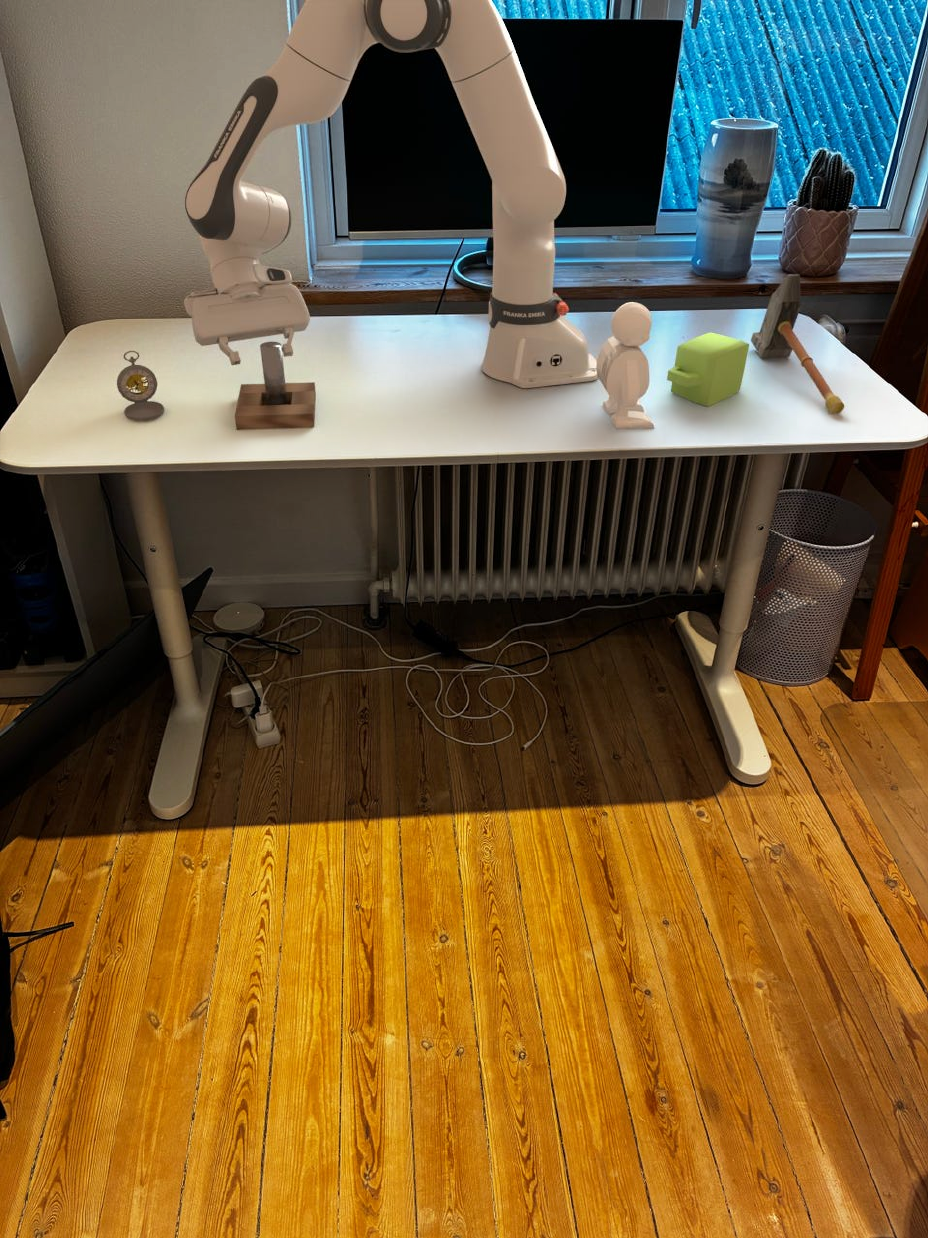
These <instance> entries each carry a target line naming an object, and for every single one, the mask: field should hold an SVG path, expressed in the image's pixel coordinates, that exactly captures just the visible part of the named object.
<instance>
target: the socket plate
mask: <svg viewBox="0 0 928 1238" xmlns="http://www.w3.org/2000/svg"><path fill="white" fill-rule="evenodd" d="M285 385H286V395H287V404H288V405H267V400H266V392H265V383H243V384H242V383H241V384H240V388H239V393H238V396H237V397H238V398H237V403H236V408H235V413H234V421H235V425H236V428H235V429H236V430H237V431H238V430H239V431H240V430H267V429H270V430H271V429H273V430H275V429H298V428H299V429H303V428H304V429H305V428H315V423H316V422H315V419H316V399H317V397H316V396H317V395H316V393H317V392H316V383H315V382H314V381H313V382H312V381H311V382H285Z"/></svg>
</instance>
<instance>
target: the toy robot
mask: <svg viewBox="0 0 928 1238" xmlns="http://www.w3.org/2000/svg"><path fill="white" fill-rule="evenodd" d="M652 321H653V320H652V314H651V313H650V310H649V309H648V308H647V307H646V306H645V305H643V304H642V303H638V302H633V301H631V302H630V301H629V302H626V303H624V304H622V305H621V306H619V307H618V308H617V309H616V311H615V312H614V313H613V315H612V317H611V321H610V322H611V323H610V324H611V325H610V326H611V327H610V328H611V334H612V336H610V337H609V338H607V339H606V340H605V342H604V343H603V345H602V346H601V348H600V351H598V352H599V353H598V354H597V355H598V356H597V359H596V361H597V366H596V369H597V375H598V379H599V381H600V383H601V384H602V386H603V387H604V389H605V391H606V393H607V395H608V399H607V400H604V401H603V402H602V407H603V408H604V410H605V412H606V413H607V414H613V415H612V416H611V422H612V423H613V426H614V428H615V429H616V430H617V429H618V430H619V429H620V430H621V429H623V430H624V429H625V430H626V429H655V425H654V422H653V420H652V419H651V418H650V416H649V414H648V413H646V412H645V410H644V407H643V405H642V403H641V402H640V401H639V400H640V399H641V398H642V397H643V396H645V395H646V393H647V391H648V389H649V386H650V365H649V361H648V358H647V356H646V355H645V353H644V351H643V350H642V349H641V348H640V347H641V346H643V345H644V344H646V343H647V342H648V341H649V340H650V338H651V330H652V323H653V322H652Z"/></svg>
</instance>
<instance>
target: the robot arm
mask: <svg viewBox="0 0 928 1238" xmlns="http://www.w3.org/2000/svg"><path fill="white" fill-rule="evenodd" d="M375 44H382V45H383V46H384V47H385V48H387V49H389V50H391V51H393V52H397V53H414V52H418V51H424V50H430V49H435V50H436V52H437V53H438V56H439V57H440V59H441V61H442V63H443V65H444V67H445V69H446V72H447V74H448V77H449V80H450V81H451V84H452V87H453V89H454V91H455V93H456V96H457V99H458V101H459V104H460V106H461V109H462V110H463V114H464V116H465V118H466V121H467V123H468V126H469V127H470V131H471V133H472V135H473V137H474V139H475V140H474V141H475V142H476V145H477V147H478V150H479V152H480V154H481V156H482V158H483V162H484V163H485V166H486V169H487V171H488V174H489V176H490V179H491V182H492V185H491V189H492V190H491V191H492V194H491V195H492V199H491V200H492V205H491V206H492V239H493V240H492V241H493V257H492V258H493V259H492V260H493V261H492V263H493V264H492V292H490V294H489V301H488V324H489V333H488V337H487V339H488V340H487V342H486V343H487V344H486V349H485V353H484V356H483V359H482V363H481V365H480V367H481V370H482V372H483V373H485V374H486V375H487V376H488V377H491V378H492V379H495V380H498V381H502V382H506V383H509V384H512V385H514V386H517V387H519V388H522V389H531V388H532V389H533V388H539V387H548V386H556V385H557V386H558V385H566V384H574V383H585V382H592V381H595V380H597V379H599V377H598V375H597V369H596V366H597V359H596V358H595V357H594V356H593V354H591V353H589V347H588V341H587V338H586V336H585V335H584V333H583V332H582V331H581V330H580V329H579V328H578V327H577V326H575V324H574V323H572V322H571V321H570V320H568V319H567V318H566V317H565V316H566V315H567V314H569V311H570V309H569V306H568V304H567V303H566V302H565V301H563V299H562V298H561V297H560V296H559V295H558V294H557V293H556V292H553V290H554V277H555V275H554V274H555V262H556V261H555V260H556V244H555V220H556V219H557V218H558V216H559V215H560V214H561V212H562V210H563V208H564V205H565V201H566V196H567V183H566V178H565V175H564V172H563V170H562V167H561V164H560V162H559V159H558V157H557V155H556V152H555V149H554V147H553V145H552V142H551V139H550V137H549V135H548V132H547V130H546V128H545V125H544V123H543V120H542V118H541V115H540V112H539V110H538V109H537V105H536V104H535V101H534V98H533V96H532V92H531V90H530V87H529V85H528V82H527V80H526V77H525V73H524V71H523V68H522V66H521V64H520V61H519V57H518V54H517V53H516V49H515V47H514V44H513V42H512V39H511V37H510V34H509V32H508V30H507V27H506V25H505V23H504V21H503V18H502V17H501V15H500V13H499V11H498V10H497V8H496V6H495V4H494V3H493V1H492V0H305V2H304V4H302V7H301V9H300V11H299V13H298V14H297V17H296V19H295V21H294V23H293V25H292V27H291V29H290V32H289V34H288V36H287V38H286V42H285V45H284V47H283V50H282V51H281V54H280V55H279V56H278V59H276V60H275V63H274V64H273V65H272V66H271V67H270V69H269V70H268V71H267V72H266V73H265V74H264V75H263V76H260V77H257V78H255V79H254V81H252V82H250V83H251V84H250V85H248V86H247V89H245V92H244V93H243V95H242V96H241V98H240V100H239V102H238V104H237V105H236V108H235V109H234V110H233V113H232V114H231V116H230V118H229V120H228V122H227V124H226V126H225V128H224V129H223V131H222V133H221V135H220V137H219V138H218V140H217V143H216V145H215V146H214V149H213V150H212V152H211V154H210V156H209V157H208V160H207V161H206V163H205V164H204V165H203V167H202V168H201V169H200V171H199V172H198V173H197V175H196V176H195V177H194V178H193V180H191V183H190V184H189V187H188V188H187V191H186V193H185V197H184V199H185V200H184V207H185V212H186V215H187V217H188V220H189V222H190V224H191V226H192V227H193V229H194V230H195V231H196V233H198V236H199V240H200V244H201V247H202V251H203V254H204V256H205V258H206V259H207V260H208V263H209V267H210V269H209V271H210V272H209V273H210V277H211V280H212V284H213V288H212V289H211V288H210V289H206V290H202V291H198V290H197V291H196V290H195V291H191V292H190V293H189V294H188V295H187V296H186V297H185V298H184V300H183V305H184V308H185V311H186V313H187V315H188V316H189V317H190V318H191V324H192V331H193V334H194V335H193V336H194V339H195V340H194V341H195V342H196V343H198V344H199V345H200V346H202V347H205V346H212V345H218V347H219V350H220V351H221V352H222V353H223V354H224V355H226V357H228V359H229V362H230V365H231V366H237V365H241V362H242V361H241V360H242V359H241V357H240V354H239V350H237V351H233V350H232V348H231V347H230V346H229V343H231V342H232V343H233V342H240V341H244V340H250V339H258V338H266V337H271V336H278V335H283V337H284V339H285V340H286V339H287V342H286V343H282V344H281V347H282V356H283V358H287V357H292V356H294V348H293V346H292V342H293V339H294V335H295V333H297V332H298V333H299V332H304V331H306V330H307V328H308V327H309V326H308V325H309V324H310V320H311V319H310V318H311V315H310V312H309V309H308V306H307V305H306V302H305V299H304V297H303V295H302V293H301V292H300V290H299V288H298V287H297V286H295V285H294V284H292V281H293V278H292V274H291V272H290V270H287V269H284V268H278V267H271V266H267V265H264V264H261V262H260V260H259V258H260V255H264V254H266V253H269V252H270V251H272V250H274V249H275V248H277V247H279V246H280V245H281V244H282V243H284V242H285V240H286V239H287V238H288V237H289V234H290V231H291V226H292V212H291V208H290V206H289V202H288V201H287V199H286V197H285V196H284V195H283V194H282V193H281V192H280V191H277V190H274V189H272V188H268V187H265V186H262V185H258V184H255V183H254V184H252V183H249V182H246V181H243V180H242V179H243V178H244V176H245V173H246V172H247V170H248V168H249V166H250V164H251V163H252V161H253V159H254V157H255V155H256V154H257V152H258V150H259V148H260V147H261V144H262V143H263V141H264V140H265V139H266V138H267V137H269V135H271V134H272V133H274V132H276V131H278V130H280V129H283V128H287V127H291V126H292V127H293V126H301V125H311V124H316V123H320V122H322V121H324V120H327V119H328V118H331V116H332V115H334V114H335V112H336V111H337V109H339V107H340V106H341V104H342V102H343V100H344V98H345V96H346V94H347V92H348V89H349V87H350V84H351V82H352V80H353V76H354V74H355V71H356V70H357V67H358V66H359V65H358V64H359V62H360V60H361V58H362V57H363V55H364V53H365V52H366V51H367V50H368V49H369V48H370V47H372V46H373V45H375Z"/></svg>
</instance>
